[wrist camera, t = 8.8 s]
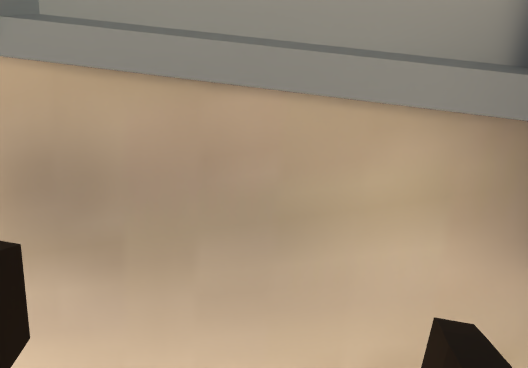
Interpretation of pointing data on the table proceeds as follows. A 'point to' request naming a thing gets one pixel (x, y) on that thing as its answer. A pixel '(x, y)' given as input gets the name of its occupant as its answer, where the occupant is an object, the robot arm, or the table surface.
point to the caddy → (296, 46)
